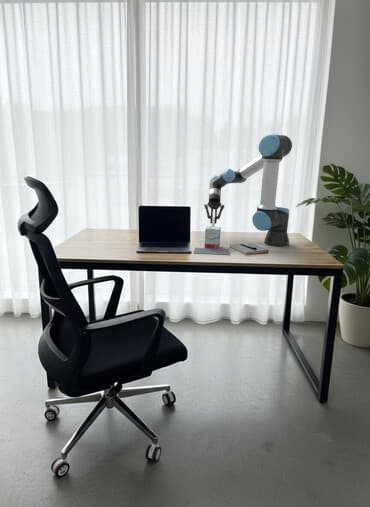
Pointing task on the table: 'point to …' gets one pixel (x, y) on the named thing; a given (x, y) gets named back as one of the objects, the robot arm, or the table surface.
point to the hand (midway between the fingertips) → (213, 227)
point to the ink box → (212, 237)
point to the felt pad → (211, 251)
